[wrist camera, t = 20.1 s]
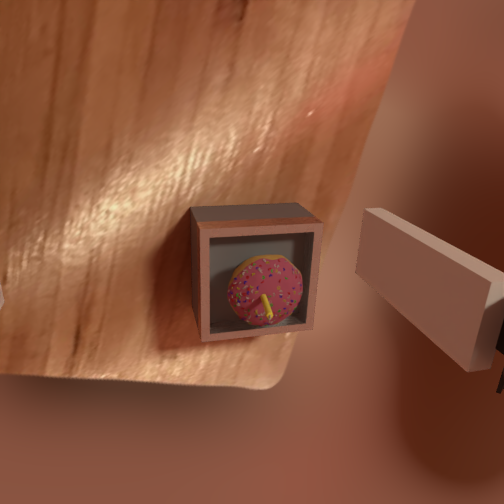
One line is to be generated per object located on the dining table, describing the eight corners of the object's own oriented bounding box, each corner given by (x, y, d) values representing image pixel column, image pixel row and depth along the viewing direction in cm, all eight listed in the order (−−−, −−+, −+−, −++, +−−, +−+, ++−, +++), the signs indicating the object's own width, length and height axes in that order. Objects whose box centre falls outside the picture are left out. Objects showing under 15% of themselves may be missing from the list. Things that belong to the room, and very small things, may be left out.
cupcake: (208, 292, 51) (229, 350, 40) (240, 229, 49) (271, 273, 38) (269, 313, 54) (303, 372, 43) (301, 255, 52) (345, 302, 41)
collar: (198, 330, 52) (201, 342, 50) (196, 222, 47) (199, 229, 45) (305, 319, 56) (312, 329, 54) (315, 216, 51) (323, 223, 48)
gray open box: (192, 307, 58) (198, 330, 52) (190, 207, 53) (196, 222, 47) (290, 297, 61) (305, 319, 56) (297, 202, 56) (315, 216, 51)
